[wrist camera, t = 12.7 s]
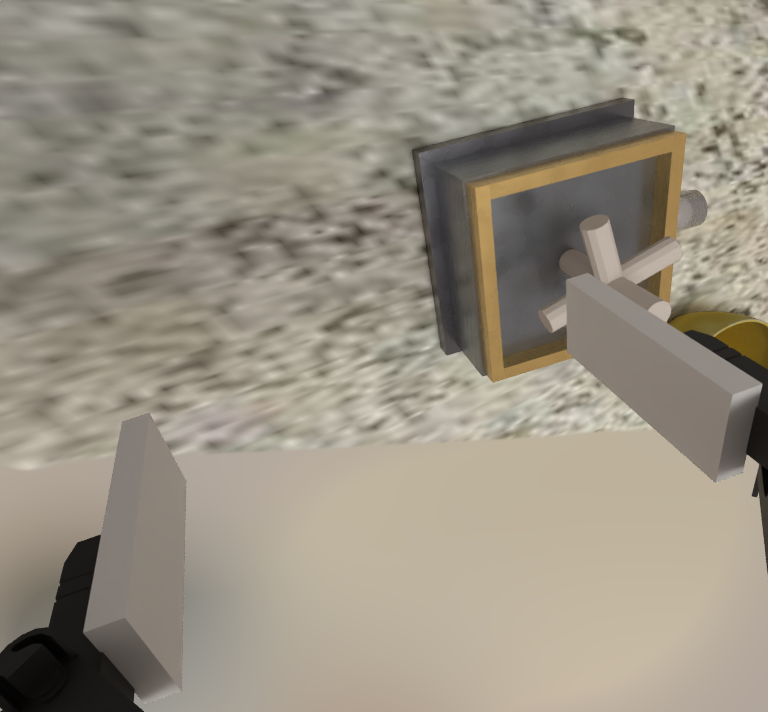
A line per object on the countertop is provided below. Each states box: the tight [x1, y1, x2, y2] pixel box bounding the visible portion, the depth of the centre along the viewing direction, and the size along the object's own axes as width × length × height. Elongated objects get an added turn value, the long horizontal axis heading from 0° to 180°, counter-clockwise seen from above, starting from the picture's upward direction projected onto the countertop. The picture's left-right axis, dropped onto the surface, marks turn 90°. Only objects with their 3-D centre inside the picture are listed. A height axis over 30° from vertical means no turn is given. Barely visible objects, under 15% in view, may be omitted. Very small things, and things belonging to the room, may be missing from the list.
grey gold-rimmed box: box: [412, 98, 707, 382], centre depth 45 cm, size 18×22×9 cm
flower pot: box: [668, 311, 768, 369], centre depth 57 cm, size 10×10×7 cm
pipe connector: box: [538, 214, 682, 333], centre depth 38 cm, size 10×10×10 cm
